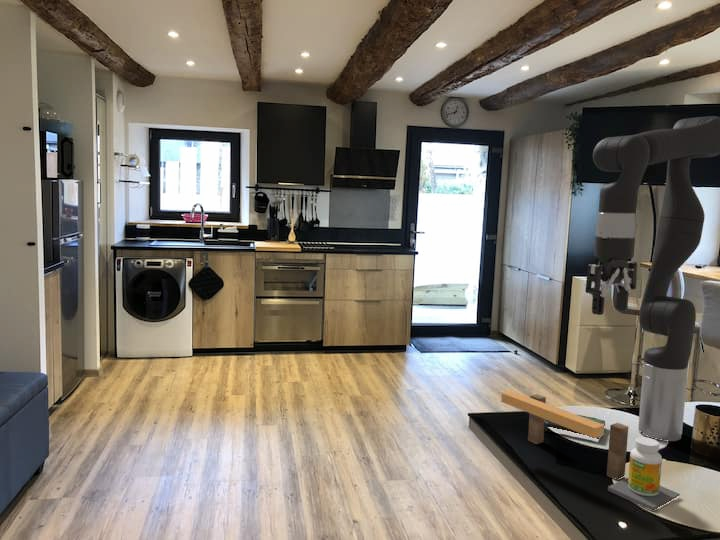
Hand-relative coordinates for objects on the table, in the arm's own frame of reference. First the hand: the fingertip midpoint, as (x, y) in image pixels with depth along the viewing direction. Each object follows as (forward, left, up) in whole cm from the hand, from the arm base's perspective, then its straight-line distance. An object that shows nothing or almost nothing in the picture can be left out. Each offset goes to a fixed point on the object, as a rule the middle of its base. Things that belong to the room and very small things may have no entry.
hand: (609, 312), depth 122 cm
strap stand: (+5, -3, -32) cm, 33 cm away
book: (+7, +14, -32) cm, 36 cm away
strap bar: (+14, -3, -21) cm, 26 cm away
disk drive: (-8, -14, -33) cm, 36 cm away
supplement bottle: (+7, +14, -32) cm, 35 cm away
